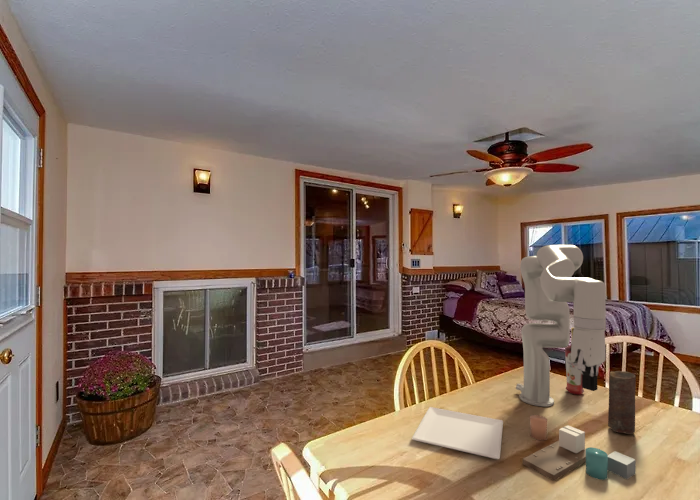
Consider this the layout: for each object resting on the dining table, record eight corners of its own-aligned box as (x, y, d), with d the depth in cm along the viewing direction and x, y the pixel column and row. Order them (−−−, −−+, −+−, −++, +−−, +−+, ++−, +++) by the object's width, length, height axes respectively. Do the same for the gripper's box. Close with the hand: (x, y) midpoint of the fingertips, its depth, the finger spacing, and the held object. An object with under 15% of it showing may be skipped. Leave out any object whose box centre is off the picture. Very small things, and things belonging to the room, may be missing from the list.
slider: (559, 445, 110) (559, 429, 110) (567, 441, 113) (567, 424, 113) (576, 453, 106) (576, 436, 106) (584, 448, 109) (584, 431, 109)
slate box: (606, 470, 101) (606, 456, 101) (614, 464, 104) (614, 451, 104) (627, 480, 97) (626, 465, 97) (635, 474, 99) (635, 459, 99)
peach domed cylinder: (527, 435, 120) (527, 417, 120) (535, 431, 123) (535, 413, 123) (541, 441, 116) (541, 423, 116) (550, 437, 119) (550, 419, 119)
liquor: (562, 392, 156) (562, 328, 156) (568, 388, 161) (567, 325, 161) (582, 397, 151) (581, 330, 151) (587, 392, 156) (586, 328, 156)
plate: (503, 425, 127) (503, 419, 128) (499, 465, 104) (499, 458, 104) (429, 411, 139) (429, 406, 139) (411, 444, 115) (411, 437, 115)
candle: (640, 438, 118) (640, 377, 118) (615, 436, 119) (615, 376, 120) (627, 427, 125) (627, 370, 126) (603, 425, 127) (603, 368, 127)
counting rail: (522, 463, 104) (522, 457, 104) (562, 443, 115) (562, 438, 115) (553, 480, 96) (553, 474, 96) (593, 457, 107) (593, 451, 107)
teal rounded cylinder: (582, 472, 100) (582, 450, 100) (591, 466, 103) (591, 445, 103) (602, 482, 96) (602, 459, 96) (611, 476, 98) (611, 454, 98)
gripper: (588, 319, 108) (588, 380, 108) (561, 324, 101) (561, 389, 101) (617, 323, 102) (617, 388, 102) (590, 328, 94) (590, 399, 94)
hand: (589, 388), depth 101 cm, fingers closed
